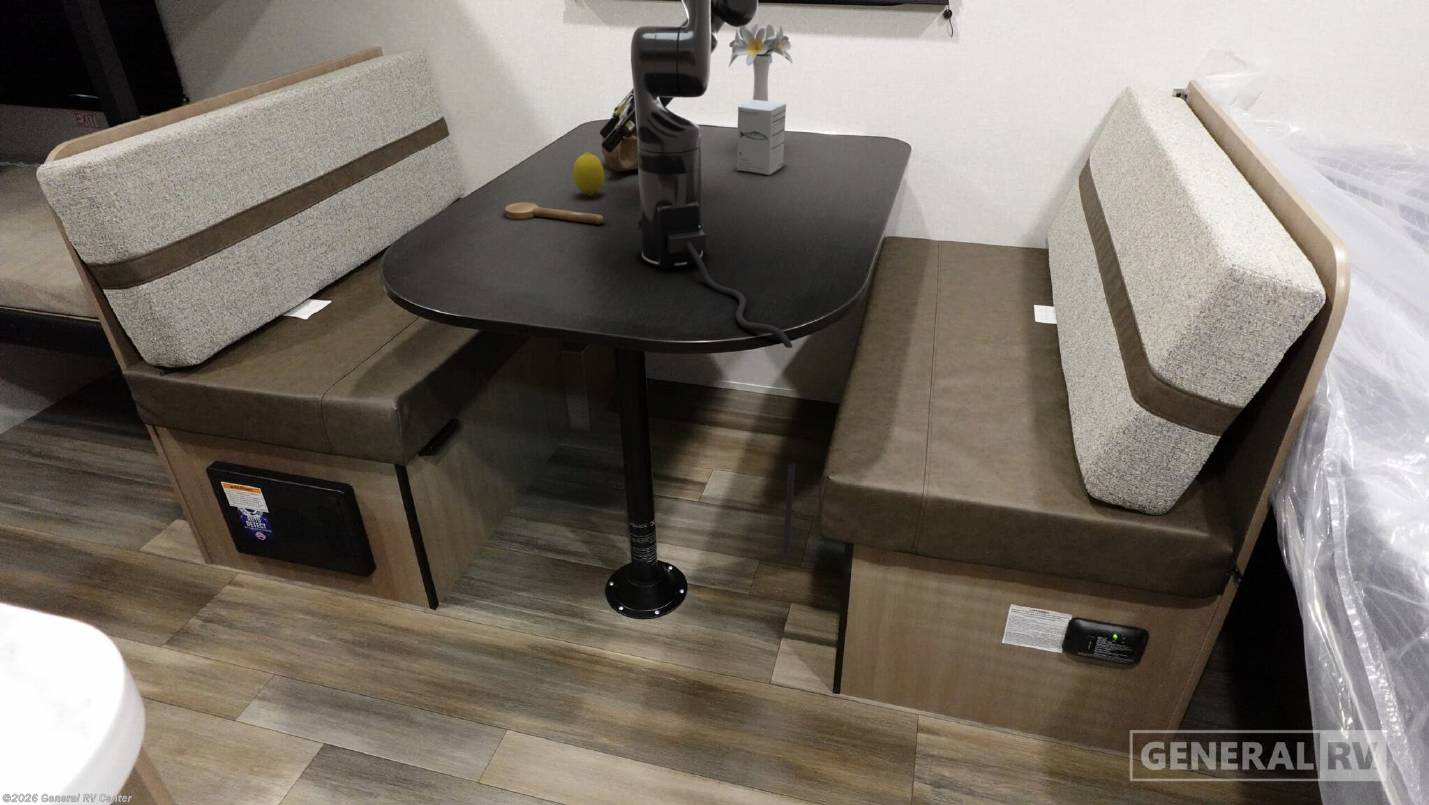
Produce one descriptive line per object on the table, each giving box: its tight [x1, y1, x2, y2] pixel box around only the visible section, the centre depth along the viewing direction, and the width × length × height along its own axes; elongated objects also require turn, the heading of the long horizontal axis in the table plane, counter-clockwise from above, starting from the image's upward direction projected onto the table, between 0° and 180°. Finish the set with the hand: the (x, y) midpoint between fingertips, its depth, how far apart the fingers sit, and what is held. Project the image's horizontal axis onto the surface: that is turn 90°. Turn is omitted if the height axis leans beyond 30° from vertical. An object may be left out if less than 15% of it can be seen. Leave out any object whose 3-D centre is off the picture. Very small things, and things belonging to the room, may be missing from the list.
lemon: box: [572, 151, 605, 197], centre depth 160 cm, size 6×6×8 cm
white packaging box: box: [736, 99, 787, 176], centre depth 174 cm, size 7×7×13 cm
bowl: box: [601, 125, 638, 172], centre depth 175 cm, size 18×14×10 cm
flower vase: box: [728, 23, 793, 101], centre depth 184 cm, size 13×18×25 cm
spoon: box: [504, 202, 604, 225], centre depth 152 cm, size 19×6×2 cm, turn 70°
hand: (604, 142), depth 158 cm, fingers open, 8 cm apart
